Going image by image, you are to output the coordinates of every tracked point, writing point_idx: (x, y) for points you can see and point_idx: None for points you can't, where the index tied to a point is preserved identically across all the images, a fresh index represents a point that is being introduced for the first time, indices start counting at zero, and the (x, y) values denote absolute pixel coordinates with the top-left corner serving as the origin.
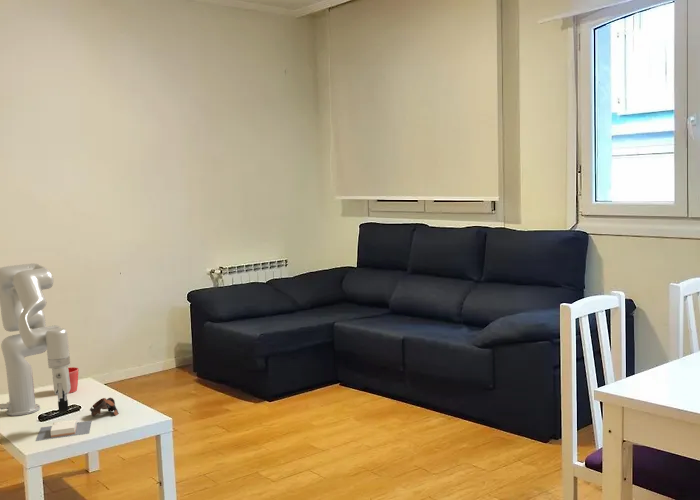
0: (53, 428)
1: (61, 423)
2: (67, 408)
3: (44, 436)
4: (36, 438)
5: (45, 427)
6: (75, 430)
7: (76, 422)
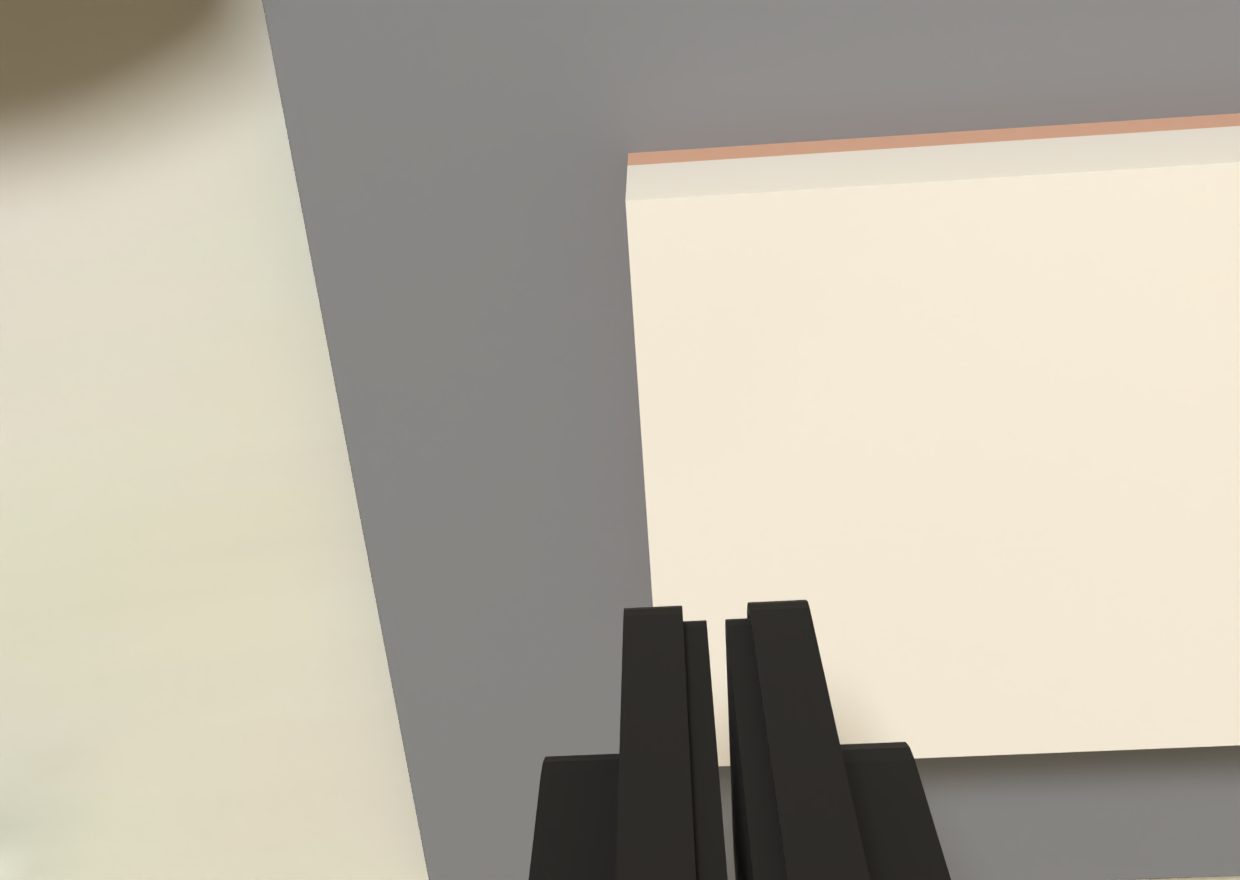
0: (1230, 700)
1: (846, 574)
2: (819, 662)
3: (1149, 764)
4: (1192, 876)
5: (468, 831)
6: (1162, 122)
7: (663, 177)
